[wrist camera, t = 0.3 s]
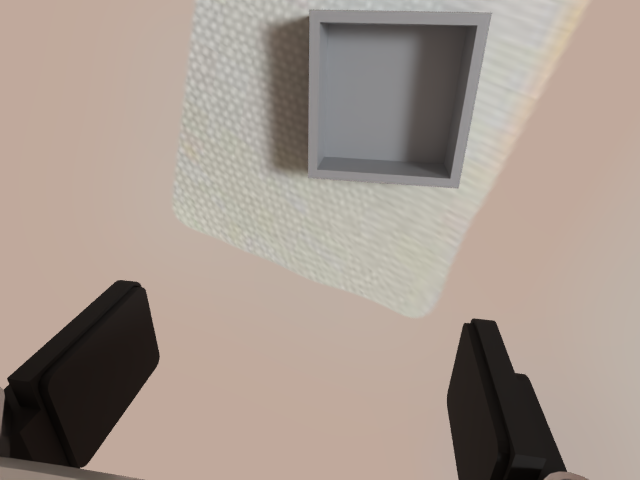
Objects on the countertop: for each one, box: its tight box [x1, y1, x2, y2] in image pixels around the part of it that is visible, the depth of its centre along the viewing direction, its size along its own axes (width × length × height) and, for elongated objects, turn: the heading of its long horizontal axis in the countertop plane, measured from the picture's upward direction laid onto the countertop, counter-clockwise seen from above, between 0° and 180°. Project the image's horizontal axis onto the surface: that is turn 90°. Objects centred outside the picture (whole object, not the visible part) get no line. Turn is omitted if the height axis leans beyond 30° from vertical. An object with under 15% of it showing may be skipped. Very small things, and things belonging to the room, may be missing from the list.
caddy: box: [308, 10, 492, 188], centre depth 34 cm, size 13×13×5 cm
